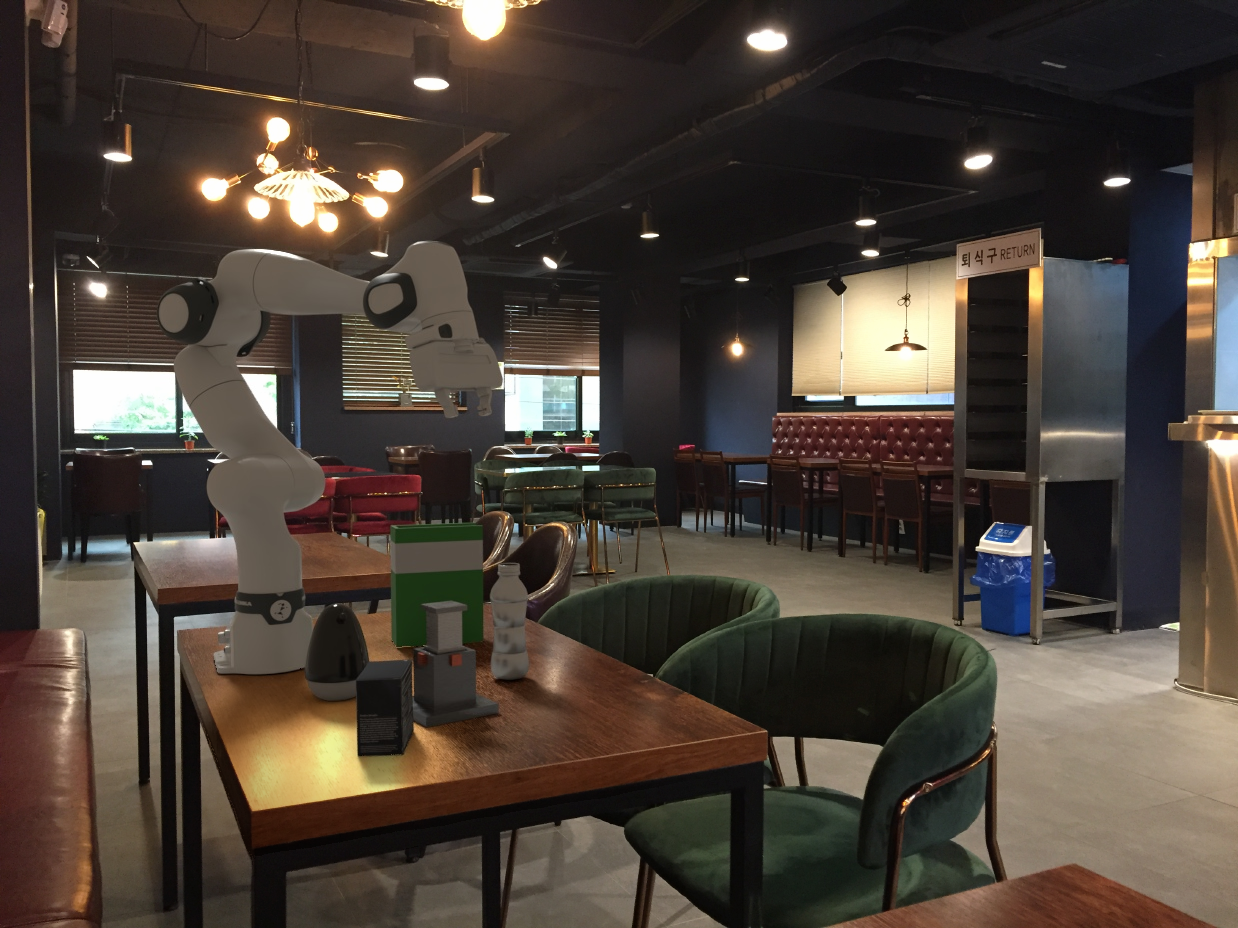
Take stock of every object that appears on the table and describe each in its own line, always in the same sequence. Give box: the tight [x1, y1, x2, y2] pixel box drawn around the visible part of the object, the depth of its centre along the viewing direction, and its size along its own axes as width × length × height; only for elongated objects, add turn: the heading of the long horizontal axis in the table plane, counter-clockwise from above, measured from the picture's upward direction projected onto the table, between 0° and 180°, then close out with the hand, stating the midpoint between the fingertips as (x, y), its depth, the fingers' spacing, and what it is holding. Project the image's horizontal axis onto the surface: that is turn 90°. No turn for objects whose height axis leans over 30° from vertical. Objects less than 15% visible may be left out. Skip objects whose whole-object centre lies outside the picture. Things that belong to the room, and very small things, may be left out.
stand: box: [412, 645, 500, 728], centre depth 147 cm, size 12×12×10 cm
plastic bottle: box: [489, 562, 530, 681], centre depth 167 cm, size 6×7×20 cm
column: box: [421, 601, 467, 655], centre depth 147 cm, size 5×5×15 cm
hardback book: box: [389, 522, 485, 648], centre depth 198 cm, size 18×7×24 cm, turn 111°
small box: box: [355, 659, 415, 757], centre depth 132 cm, size 11×6×10 cm, turn 5°
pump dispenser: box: [304, 603, 371, 702], centre depth 156 cm, size 10×10×15 cm
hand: (469, 416), depth 160 cm, fingers open, 8 cm apart
